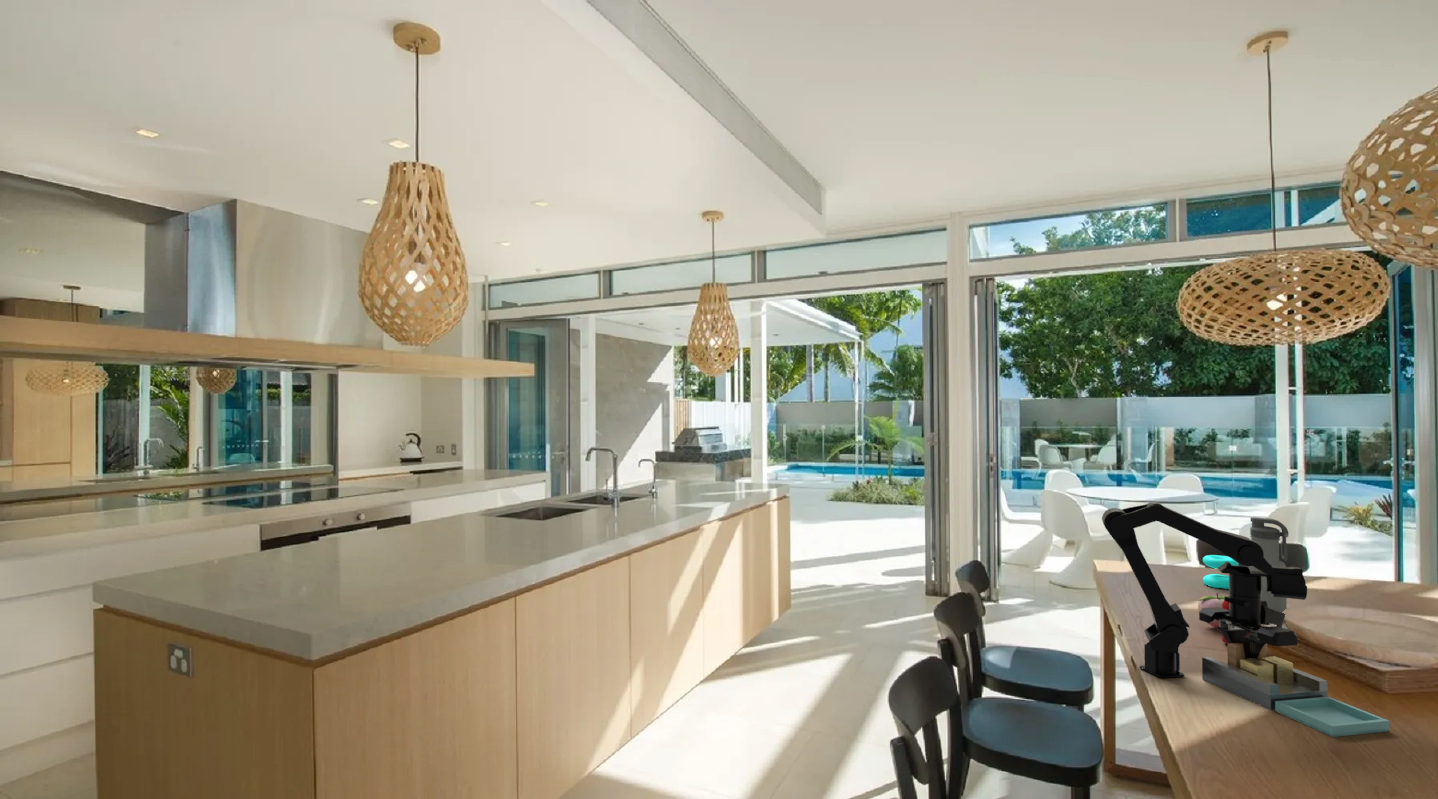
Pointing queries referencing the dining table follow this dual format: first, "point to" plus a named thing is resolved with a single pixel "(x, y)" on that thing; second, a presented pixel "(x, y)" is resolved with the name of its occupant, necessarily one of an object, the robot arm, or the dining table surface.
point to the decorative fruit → (1211, 605)
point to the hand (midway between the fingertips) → (1245, 664)
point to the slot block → (1262, 684)
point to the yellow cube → (1280, 669)
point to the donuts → (1215, 562)
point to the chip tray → (1331, 716)
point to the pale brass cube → (1258, 668)
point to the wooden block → (1239, 653)
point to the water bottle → (1270, 553)
